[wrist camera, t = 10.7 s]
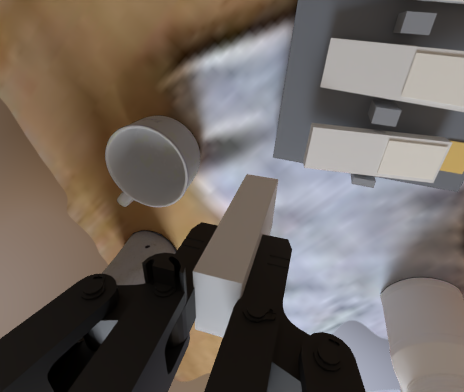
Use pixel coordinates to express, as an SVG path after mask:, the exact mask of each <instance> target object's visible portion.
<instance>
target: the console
mask: <svg viewBox="0 0 464 392" xmlns="http://www.w3.org/2000/svg"><path fill="white" fill-rule="evenodd" d="M331 38H340V39H350V40H360V41H370V42H380V43H390V44H400V45H402V44H406V45H416V46H420V47H430V48H440V49H450V50H460V51H464V4H457V3H445V2H433V1H417V0H298V3H297V10H296V16H295V22H294V28H293V35H292V41H291V47H290V54H289V60H288V66H287V72H286V79H285V85H284V91H283V97H282V104H281V110H280V116H279V122H278V129H277V135H276V141H275V147H274V154H273V158H279V159H284V160H289V161H294V162H300V163H303V161H304V156H305V151H306V147H307V142H308V138H309V133H310V128H311V124H312V123H318V124H328V125H337V126H346V127H355V128H364V129H373V130H382V131H391V132H401V133H410V134H419V135H428V136H437V137H445V138H446V139H448V140H449V141H451V142H453V143H452V145H451V147H450V149H449V151H448V153H447V155H446V157H445V160H444V162H443V164H442V166H441V168H440V170H439V172H438V174H437V176H436V178H435V180H434V183H428V182H419V181H411V180H403V179H394V178H386V177H380V178H385V179H390V180H395V181H401V182H406V183H411V184H417V185H422V186H427V187H433V188H438V189H443V190H449V191H454V192H458V191H459V189H460V187H461V185H462V183H463V181H464V112H460V111H454V110H448V109H443V108H437V107H431V106H425V105H420V104H414V103H408V102H402V101H397V100H390V99H385V98H380V97H374V96H368V95H362V94H357V93H351V92H345V91H340V90H334V89H328V88H322V87H320V86H321V81H322V77H323V72H324V67H325V63H326V58H327V54H328V49H329V45H330V40H331ZM375 177H377V176H369V175H361V174H352V173H351V180H352V184H356V185H361V186H366V187H371V188H373V187H374V185H375V182H376V181H375Z"/></svg>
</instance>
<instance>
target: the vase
mask: <svg viewBox="0 0 464 392" xmlns="http://www.w3.org/2000/svg"><path fill="white" fill-rule="evenodd" d="M176 252H177V251H176V249H175V248H174V246H173V245H172V244H171V242H170V241H169V240H167V239H166V238H165V237H163V236H162V235H161V234H158V233H155V232H151V231H138V232H136V233H133V235H132V236H131V237H130V238H129V239H128V241H127V242H126V244H125V245H124V246H123V248H122V249H121V250H120V252H119V253H118V255H117V256H116V257H115V258H114V259H113V261H112V262H111V263H110V264H109V265H108V267H107V268H106V269H105V270H104V271H103V272H102V274H107V275H110V276H112V277H113V278H114V279H115V280H116V284H117V285H138V284H144V283H145V279H144V273H143V267H142V262H144V261H145V260H146V259H147V258H148V257H150V256H152V255H155V254H159V253H173V254H175V253H176Z"/></svg>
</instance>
